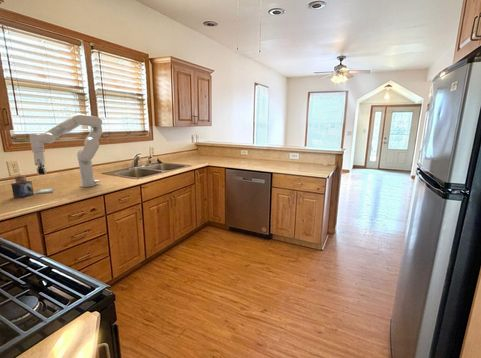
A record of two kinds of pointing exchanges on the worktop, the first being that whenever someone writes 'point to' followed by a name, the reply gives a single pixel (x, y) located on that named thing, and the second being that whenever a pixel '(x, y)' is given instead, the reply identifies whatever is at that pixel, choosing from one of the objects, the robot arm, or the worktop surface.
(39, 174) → the oak cube
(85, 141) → the robot arm
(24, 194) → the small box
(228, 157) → the worktop surface
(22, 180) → the walnut cube
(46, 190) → the grey square plate
